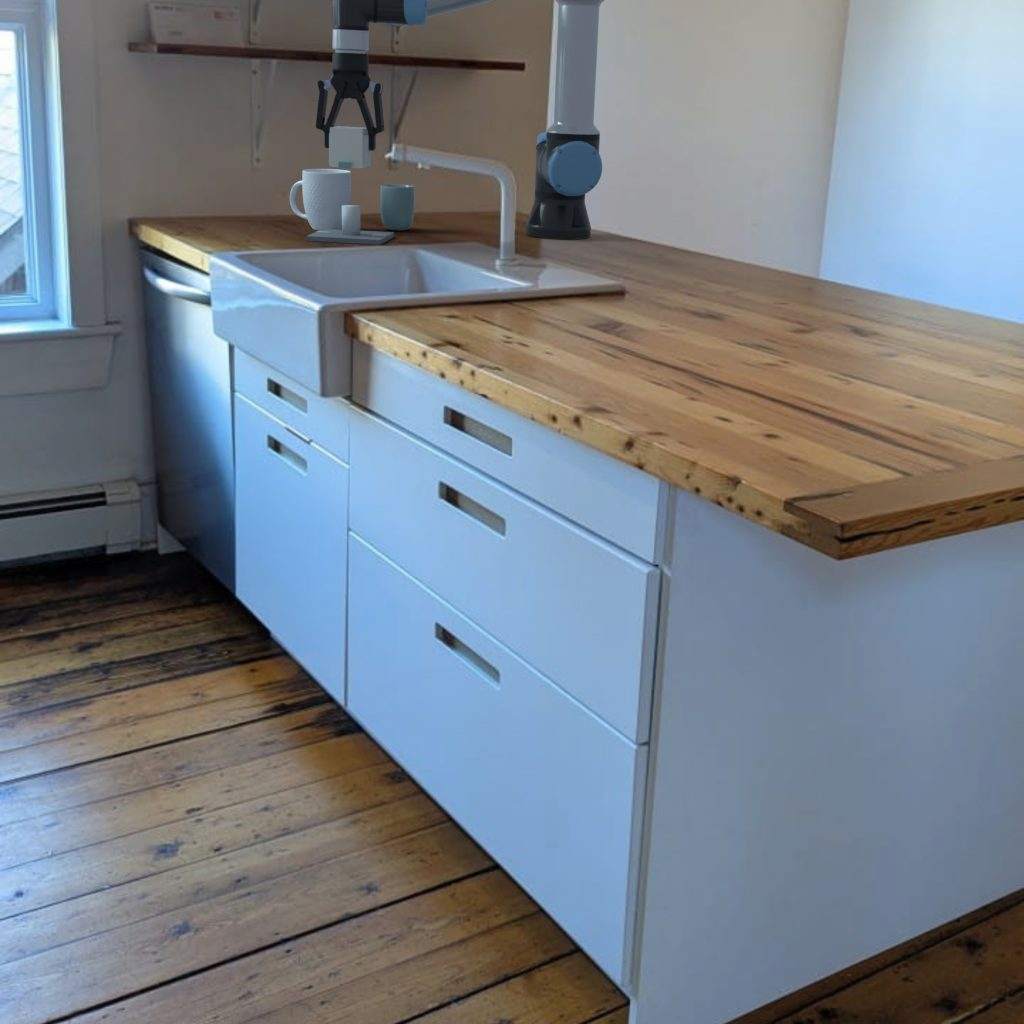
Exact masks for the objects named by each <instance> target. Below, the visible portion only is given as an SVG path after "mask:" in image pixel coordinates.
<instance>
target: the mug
mask: <svg viewBox="0 0 1024 1024" xmlns="http://www.w3.org/2000/svg"><path fill="white" fill-rule="evenodd" d="M301 177H302V179H301V180H299V181H296V182H295V183H294V184H293V185H292V187H291V188H290V189H291V190H290V192H289V204H290V207H291V209H292V211H293V212H294V214H295V215H296V216H298V217H300V218H302V219H305V220H307V221H308V223H309V225H310V227H311V228H312V230H314V231H319V230H322V229H340V230H342V205H352V171H351V170H345V169H336V168H335V169H334V168H307V169H302V176H301ZM300 186H302V188H301V189H302V203H303V207H304V208H303V209H304V212H305V213H303V212H301V211H300V209H299V208H298V206H297V203H296V193H297V190H298V188H299V187H300Z"/></svg>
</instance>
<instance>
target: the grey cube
mask: <svg viewBox="0 0 1024 1024" xmlns="http://www.w3.org/2000/svg"><path fill="white" fill-rule="evenodd" d="M365 135H368V131H367V128H366V127H359V126H358V127H357V126H342V125H341V126H339V125H338V126H334V127H330V165H329V167H330V168H332V167H333V168H339V169H365V168H367V167H364V164H365Z"/></svg>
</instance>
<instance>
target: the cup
mask: <svg viewBox="0 0 1024 1024" xmlns="http://www.w3.org/2000/svg"><path fill="white" fill-rule="evenodd" d="M415 187H416V186H415V185H412V184H399V183H390V184H389V183H386V184H381V185H380V190H379V191H380V195H379V196H380V199H379V201H380V206H379V207H380V218H381V222H382V225H383V226H384V228H385V229H387V230H388V231H392V232H395V231H396V232H403V231H407V230H409V229H410V228H411V227H412V225H413V221H414V216H415V204H416V203H415V201H416V194H415V193H416V190H415Z"/></svg>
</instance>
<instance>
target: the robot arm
mask: <svg viewBox="0 0 1024 1024" xmlns="http://www.w3.org/2000/svg"><path fill="white" fill-rule="evenodd" d="M493 1H496V0H332V2H331V3H332V6H331V7H332V48H331V49H332V50H334V51H335V52H333V54H332V61H331V63H332V65H331V66H332V74H331V76H330V79H325V80H318V81H317V86H318V87H317V88H318V92H319V93H318V103H317V111H316V118H315V120H316V121H315V128H316V129H317V130H320V131H322V132H323V134H324V148H325V149H328V165H329V166H330V127H335V123H336V120H338V116H339V114H340V111H341V107H342V104H343V102H344V101H345V99H351V100H356V102H357V104H358V106H359V110H360V112H361V115H362V118H363V119H362V120H363V121H364V125H365V128H367V131H368V135H365V164H364V167H366V168H370V167H371V166H372V163H371V162H372V161H371V160H372V156H371V155H372V154H371V153H372V151H375V150H376V147H377V145H376V141H377V140H376V136H377V134H380V133H383V132H384V131H385V119H384V109H383V100H382V99H383V98H382V93H383V88H384V85H383V83H381V82H379V83H378V82H375V81H371V78H370V76H369V75H370V74H369V70H370V69H369V65H370V64H369V59H370V58H369V55H368V54H367V52H368V51H370V50H369V49H370V45H369V44H370V31H369V30H370V28H369V27H370V24H371V23H373V24H387V25H389V26H391V27H402V26H411V27H412V26H422V25H425V23H426V22H427V19H429V18H433V17H436V16H440V15H445V14H448V13H453V12H456V11H460V10H463V9H464V10H465V9H466V8H467V9H468V8H471V7H475V6H480V5H482V4H486V3H490V2H493ZM555 1H556V2H557V5H558V12H557V13H558V14H557V15H558V16H557V17H558V18H557V37H556V39H557V41H556V61H555V62H556V64H555V66H556V67H555V86H554V87H555V88H554V90H555V91H554V111H553V112H554V114H553V123H552V125H550V126H549V127H548V128H547V129H546V131H543V132H541V133H539V134H538V136H537V139H536V144H535V151H536V154H535V155H536V156H535V157H536V158H535V179H534V181H535V182H534V200H533V204H532V207H531V209H530V212H529V215H528V217H527V220H526V224H525V235H527V236H529V237H535V238H541V239H542V238H543V239H552V240H553V239H557V240H558V239H559V240H579V239H588V238H591V234H592V233H591V232H592V226H591V222H590V217H589V214H588V211H587V206H586V202H585V200H586V194H588V193H590V191H593V189H595V187H596V186H597V185H598V183H599V182H600V179H601V177H602V173H603V163H602V162H603V161H602V157H601V155H600V144H601V143H600V139H601V131H600V130H599V129H598V128H597V127H596V126H595V123H594V122H595V121H594V120H595V100H596V82H597V81H596V79H597V62H598V61H597V60H598V59H597V58H598V40H599V39H598V38H599V23H600V22H599V20H600V6H601V5H602V3H603V2H604V1H605V0H555ZM331 86H332V88H333V89H334V90H335V92H336V93H335V95H334V99H333V102H332V106H331V108H330V110H329V114H328V116H327V119H326V114H327V105H328V97H329V95H328V94H329V93H328V91H329V90H330V89H331ZM369 87H370V90H371V91H370V92H371V93H372V94H373V95H372V97H373V98H372V99H373V107H374V116H375V117H374V119H375V124H374V121H373V117H372V115H371V112H370V111H371V110H370V108H369V106H368V103H367V98H366V95H365V93H366V92H367V90H368V88H369ZM325 121H326V122H325Z"/></svg>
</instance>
